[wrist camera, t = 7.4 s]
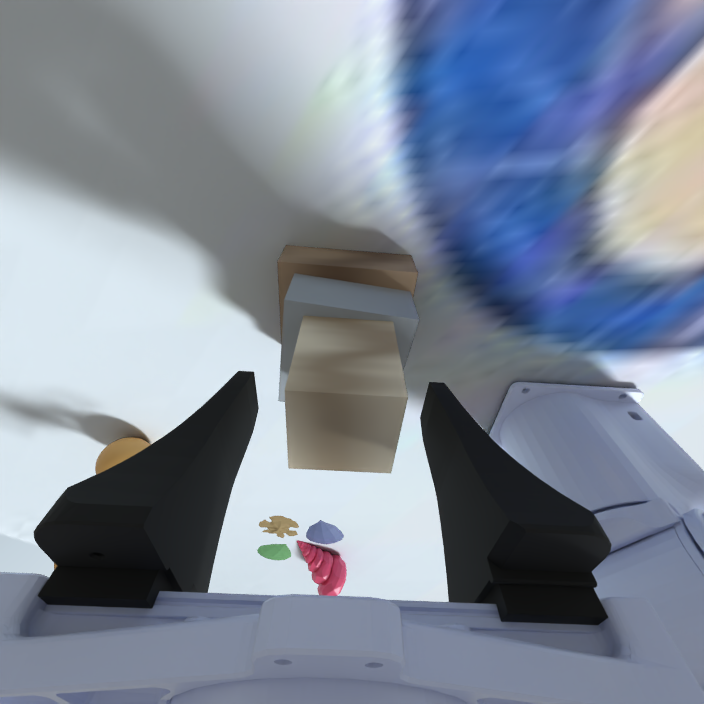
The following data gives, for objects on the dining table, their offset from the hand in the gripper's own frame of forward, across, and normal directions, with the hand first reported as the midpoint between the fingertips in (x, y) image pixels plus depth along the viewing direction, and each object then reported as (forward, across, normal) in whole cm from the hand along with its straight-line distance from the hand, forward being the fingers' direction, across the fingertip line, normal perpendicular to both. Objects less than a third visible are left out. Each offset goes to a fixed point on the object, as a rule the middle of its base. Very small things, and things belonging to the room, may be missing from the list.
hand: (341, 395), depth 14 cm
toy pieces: (+9, +3, +30) cm, 31 cm away
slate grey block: (+6, 0, 0) cm, 6 cm away
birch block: (+3, 0, 0) cm, 3 cm away
